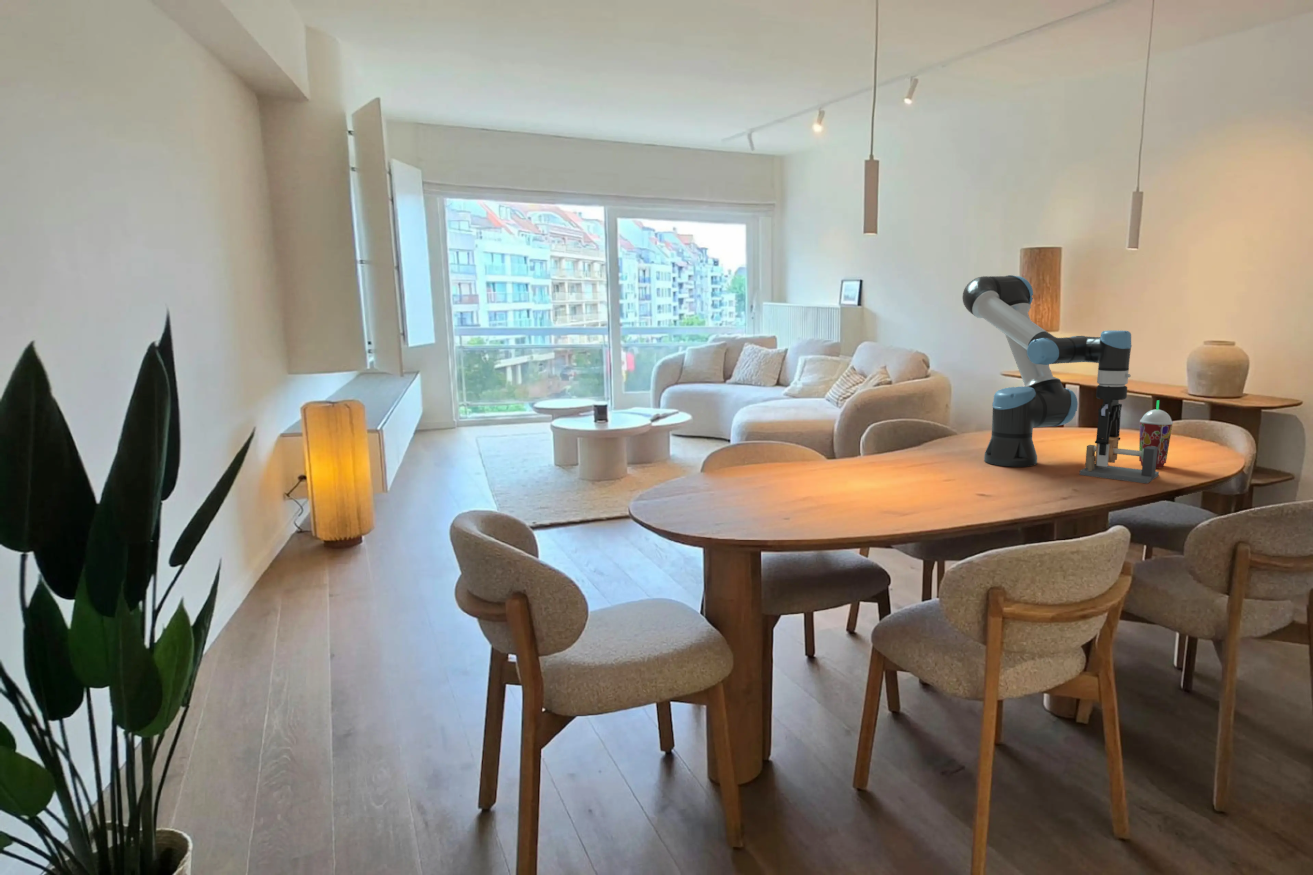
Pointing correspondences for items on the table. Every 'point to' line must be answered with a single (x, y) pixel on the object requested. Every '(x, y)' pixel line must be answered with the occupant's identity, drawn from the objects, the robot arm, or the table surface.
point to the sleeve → (1110, 449)
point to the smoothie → (1156, 433)
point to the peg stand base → (1120, 472)
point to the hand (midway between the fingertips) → (1105, 463)
